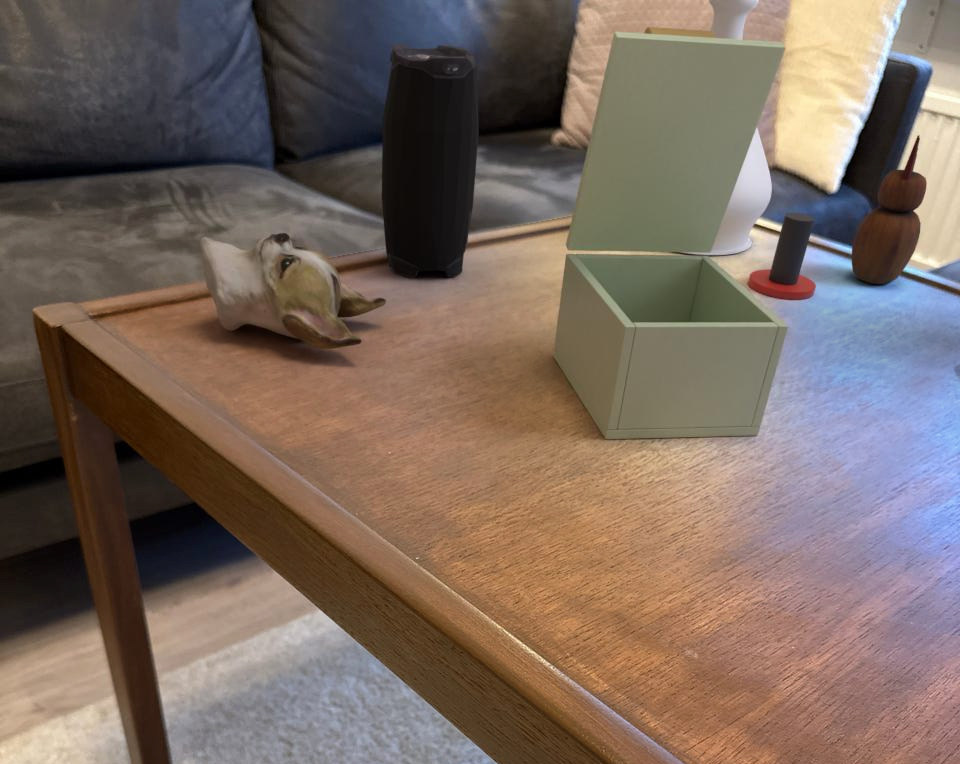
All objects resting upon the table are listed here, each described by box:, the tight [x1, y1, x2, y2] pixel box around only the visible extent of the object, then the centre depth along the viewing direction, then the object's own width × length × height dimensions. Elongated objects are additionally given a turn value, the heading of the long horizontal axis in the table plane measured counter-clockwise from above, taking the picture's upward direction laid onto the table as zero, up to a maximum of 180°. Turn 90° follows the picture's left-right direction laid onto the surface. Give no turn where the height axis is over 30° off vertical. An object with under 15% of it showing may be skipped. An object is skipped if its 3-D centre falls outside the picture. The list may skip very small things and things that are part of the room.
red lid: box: [747, 212, 817, 300], centre depth 103 cm, size 7×7×7 cm
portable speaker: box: [381, 43, 480, 279], centre depth 95 cm, size 9×9×20 cm
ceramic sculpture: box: [200, 232, 387, 350], centre depth 83 cm, size 11×9×15 cm
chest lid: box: [565, 26, 786, 253], centre depth 76 cm, size 16×13×5 cm
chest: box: [552, 253, 789, 440], centre depth 79 cm, size 16×13×9 cm
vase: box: [680, 0, 773, 256], centre depth 110 cm, size 17×17×25 cm
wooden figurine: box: [851, 134, 928, 285], centre depth 105 cm, size 7×6×15 cm
